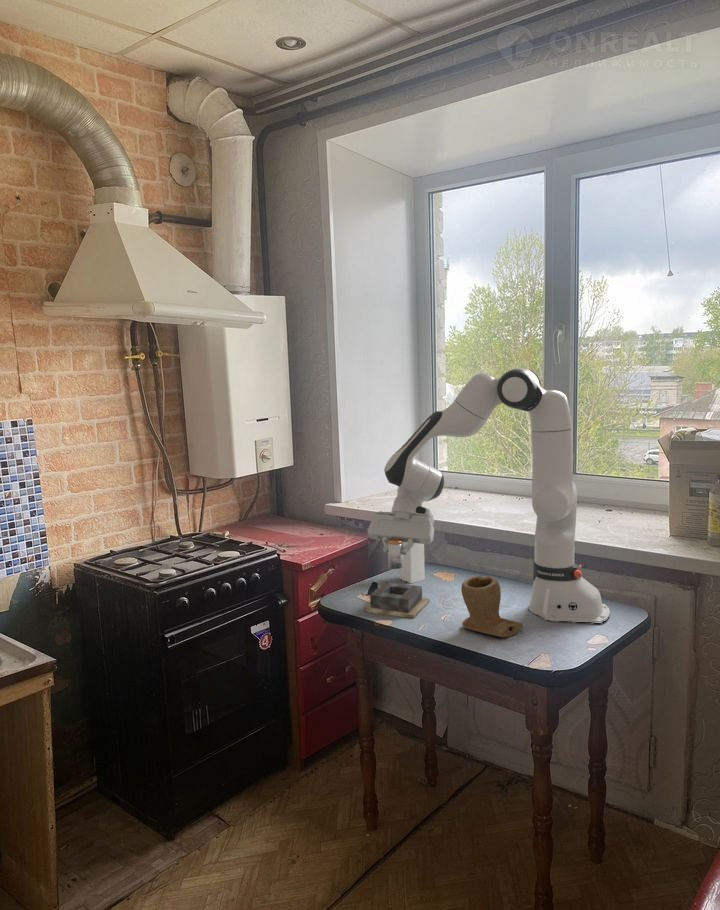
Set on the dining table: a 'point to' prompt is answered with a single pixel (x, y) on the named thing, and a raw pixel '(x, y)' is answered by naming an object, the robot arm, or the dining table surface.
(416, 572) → the milk
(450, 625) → the dining table surface
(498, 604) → the tan boot-shaped piece
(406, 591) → the socket board
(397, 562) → the glass jar
